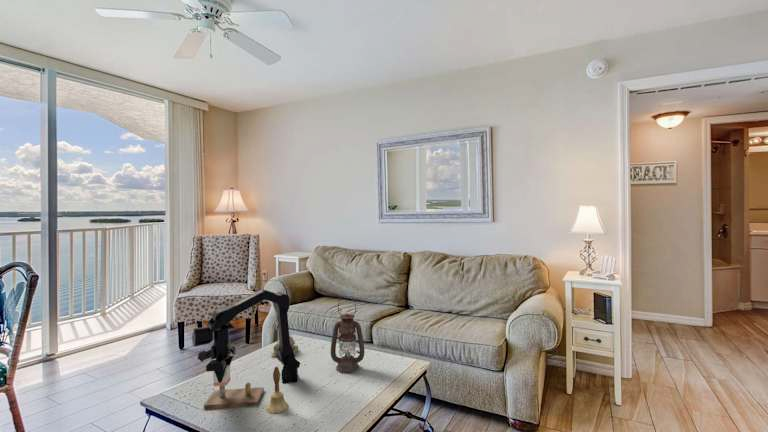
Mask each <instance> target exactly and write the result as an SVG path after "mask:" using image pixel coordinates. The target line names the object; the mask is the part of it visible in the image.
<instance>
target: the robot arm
mask: <svg viewBox="0 0 768 432" xmlns="http://www.w3.org/2000/svg"><path fill="white" fill-rule="evenodd" d="M263 301H268V302H271V303H272V306H273V308H274V310H275V313H276V320H277V322H276V323H277V329H278V331H277V332H278V341H279V347H278V348H277V349H275V351H276V357H275V358H276V359H277V360H278V361H279V362H280V364H281V365H283V366H282V369H281V380H282V381H281V383H282V384H285V383H297V382H298V379H299V368H300V366H301V362H300V361H299V360H298V359H296V354H294V352H293V349H292V347H291V345H290V337H291V336H290V328H289V319H288V318H289V317H288V313H289V309H290V305H291V304H290V303H291V299H290V296H289V295H287V294H286V293H283V292H281V291H280V292H279V291H278V292H273V291H269V290H266V289H264V288H262V289H261V288H260V289H259V290H258V291H256V292H254V293H252V294H250V295H248V296H246V297H245V298H243V299H240V300H239V301H237V302H235V303H233V304H232V303H231V304H230V305H225V306H222V307H219V308H217V309H215V310H214V311H213V312H212V314H211V318H210V319H209V321H207V323H206V326H203V327H194V328H193V330H192V335H191V341H192V347H195V348H196V347H199V346H205V345H209V344H211V343H212V342H213V344H212V345H211V346H209V347H207V348H205V349H203V350H202V349H201V350H200V351H199V352H198V353H197V360H199V361H200V362H204V361H205V360H206V361H207V360H208V359H211V360H210V361H209V362H208V363H207V364H206V365H205V371H206V372H213V371H214V372H215V374H216V377H217V380H218V382H219V383H220V382H222V379H223V377H224V374H225V371H226V368H227V365H230V366H231V363H232V361H233V358H234V356H235V354H236V353H237V350H236V347H235V346H234V345H232V346H230V344H231V342H232V341H231V340H230V330H231V329H235V326H234V325H233V324H232V323H231V321H233V320H234V319H235V318H236V317H237V316H238V315H240V314H241V313H242V312H245V311H246V310H248V309H250V308H253V306H256V305H257V304H259V303H261V302H263ZM289 336H290V337H289ZM231 354H232V355H231Z"/></svg>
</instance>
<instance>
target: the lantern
mask: <svg viewBox="0 0 768 432" xmlns="http://www.w3.org/2000/svg"><path fill="white" fill-rule="evenodd" d="M342 298H353V300H354V303H355V304H354V305H355V306H354V307H357V302H356V299H355V297H354V296H350V295H349V296H348V295H347V296H346V295H345V296H341V297H340V298H339V299H338V303H337V304H338V305H337V311H338V314H339V315H340V316H339V319H341V320H339V321H336V323H335V324H334V326H333V329H332V330H333V331H332V335H331V342H330V357H331V360H332V361H334V362H335V363H337V364H336V368H335V370H336V372H338V371H339V372H338V373H340V372H341V373H340V374H346V373H347V374H352V372H354V373H356V372H358V371H359V370H358V369H360V365H359V363H360V362H361V361H363V359H364V356H365V344H364V343H365V342H364V336H363V330H362V326H361V324H360V323H359V322H358V321H356V320H354V319H355V317H356V316H355V314H356V312H357V308H355V310H354V313H353V314H349V313H345V314H343V313H342V314H341V313H340V309H339V307H340V302H341V301H340V300H341V299H342ZM338 333H339V334H340V335H339V336H338ZM354 333H356V334H357V336H356V334H354ZM356 337H357V338H356ZM357 339H358V341H357ZM337 340H338V344H339V345H338V348H339V351H338V354H339V355H340V357H339V356H337V354H336V349H337V348H336V347H337ZM340 342H341V343H340ZM357 342H358V347H359V348H358V349H359V350H357V351H356V347H357V344H356V343H357ZM356 354H359V355H358V356H357V357H355V356H356ZM342 355H343V356H342ZM357 370H358V371H357ZM355 371H356V372H355Z"/></svg>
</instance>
